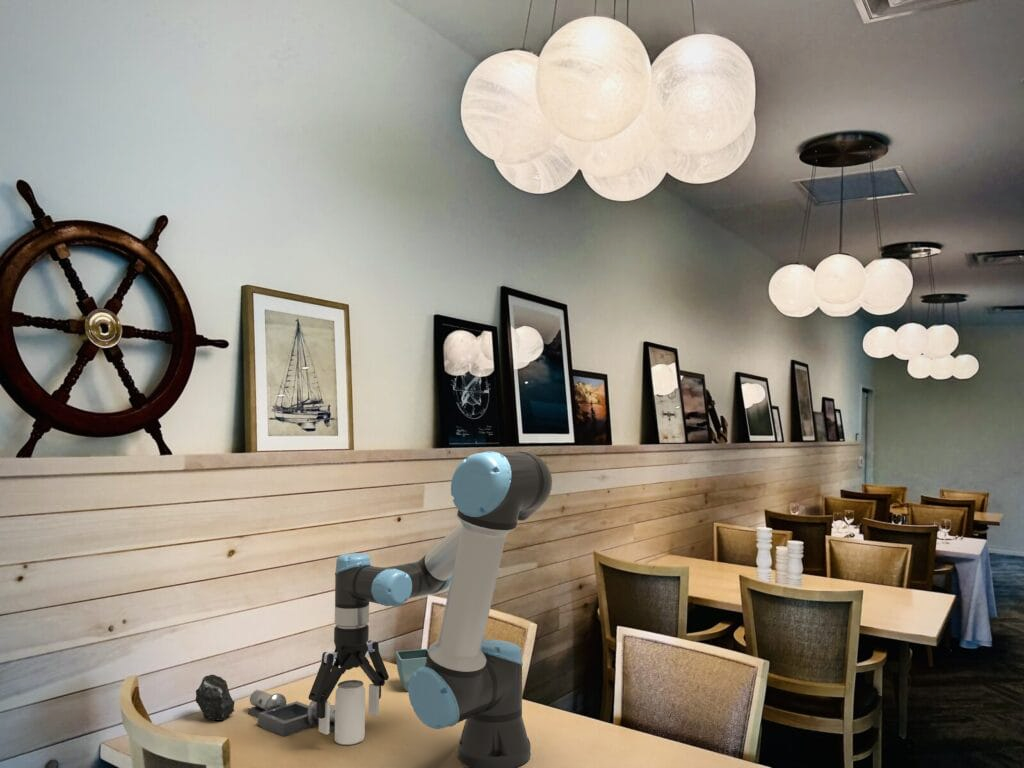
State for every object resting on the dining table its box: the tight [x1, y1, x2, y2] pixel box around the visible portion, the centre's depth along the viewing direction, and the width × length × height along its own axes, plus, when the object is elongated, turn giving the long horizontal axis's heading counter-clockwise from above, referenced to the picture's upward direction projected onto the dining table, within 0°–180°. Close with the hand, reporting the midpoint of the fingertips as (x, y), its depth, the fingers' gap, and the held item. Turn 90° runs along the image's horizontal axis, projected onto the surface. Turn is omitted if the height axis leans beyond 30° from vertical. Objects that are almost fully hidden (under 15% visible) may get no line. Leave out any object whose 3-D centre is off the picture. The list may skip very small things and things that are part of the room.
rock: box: [194, 674, 235, 721], centre depth 175 cm, size 8×7×10 cm
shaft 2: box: [307, 700, 335, 733], centre depth 169 cm, size 9×5×6 cm, turn 80°
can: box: [334, 679, 366, 746], centre depth 162 cm, size 6×6×12 cm
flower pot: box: [395, 648, 429, 692], centre depth 197 cm, size 9×9×9 cm
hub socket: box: [257, 701, 319, 737], centre depth 171 cm, size 10×10×3 cm
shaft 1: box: [247, 689, 287, 719], centre depth 177 cm, size 9×5×6 cm, turn 50°
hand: (349, 723), depth 162 cm, fingers open, 13 cm apart
